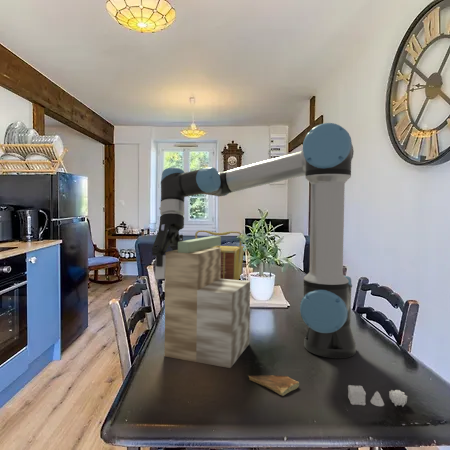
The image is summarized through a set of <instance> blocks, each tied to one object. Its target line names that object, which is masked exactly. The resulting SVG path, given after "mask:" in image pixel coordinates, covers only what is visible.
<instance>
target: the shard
mask: <svg viewBox="0 0 450 450" xmlns="http://www.w3.org/2000/svg"><path fill="white" fill-rule="evenodd" d="M247 377H248V378H249V379H248V380H249V381H252V382H254V383H256V384H259V385H260V386H263V387H266V388H267V389H269V390H270V391H272V392H275V393H276V394H278V395H279V396H282V397H284V396H285V395H287V394H289V393H290V392H293V391H294V390H296V389H298V388H299V386H300V382H299V380H298V381H297V380H295V379H293V378H291V377H289V375H275V374H274V375H270V374H261V375H260V374H259V375H258V374H257V375H255V374H254V375H253V374H248V375H247Z"/></svg>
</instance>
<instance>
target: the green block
mask: <svg viewBox="0 0 450 450" xmlns="http://www.w3.org/2000/svg"><path fill="white" fill-rule="evenodd" d="M214 246H222V235H210V236H204V237H200V238H199V237H197V239H195V238H193V239H186V240H183V241H180V242H178V252H179V253H190V252H194V251H198V250H202V249H206V248H210V247H214Z"/></svg>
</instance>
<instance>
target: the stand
mask: <svg viewBox="0 0 450 450" xmlns="http://www.w3.org/2000/svg"><path fill="white" fill-rule="evenodd" d="M164 255H165V256H166V268H165V279H164V357H167V358H172V359H176V360H177V359H178V360H182V361H189V362H193V363H194V362H195V363H199V364H206V365H211V366H217V367H223V368H228V369H231V368H232V367H233V365H234V364H235V363H236V362H237V360H238V359H239V358H240V356H241V355H242V354H243V352H244V351H245V350H246V349H247V347H248V346H249V345H250V320H251V319H250V315H251V314H250V313H251V312H250V311H251V309H250V307H251V306H250V305H251V281H249V280H241V279H240V280H230V279H220V273H221V248H214V247H210V248H206V249H202V250H198V251H194V252H190V253H179V252H178V250H170V251H166V252H165V254H164Z"/></svg>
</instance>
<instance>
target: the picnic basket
mask: <svg viewBox="0 0 450 450" xmlns="http://www.w3.org/2000/svg"><path fill="white" fill-rule="evenodd" d="M198 233H207V234H209V235H211V236H226V235H229V234H238V235H239V236H240V235H241V234H242V232H240V231H234V230H229V231H224V232H213V231H211V230H202V229H201V230H197V231H196V232H195V235H194V237H195V238H194V239H198ZM242 235H243V234H242ZM242 244H243V242H242V243H241V241H240V240H239V245H238V246H234V245H231V246H230V245H218V246H214V248H221V273H220V279H230V280H239V279H240V280H241V278H240V275H241V276H242V273H243V272H242V271H243V263H244V254H245V253H244V252H245V250H244V251H243V248H244V249H245V247H244V245H242Z"/></svg>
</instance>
